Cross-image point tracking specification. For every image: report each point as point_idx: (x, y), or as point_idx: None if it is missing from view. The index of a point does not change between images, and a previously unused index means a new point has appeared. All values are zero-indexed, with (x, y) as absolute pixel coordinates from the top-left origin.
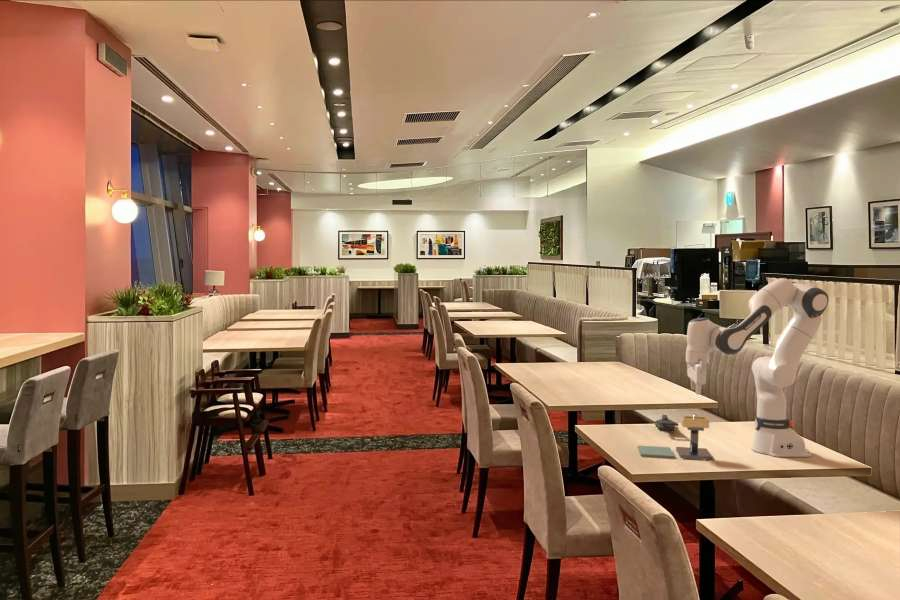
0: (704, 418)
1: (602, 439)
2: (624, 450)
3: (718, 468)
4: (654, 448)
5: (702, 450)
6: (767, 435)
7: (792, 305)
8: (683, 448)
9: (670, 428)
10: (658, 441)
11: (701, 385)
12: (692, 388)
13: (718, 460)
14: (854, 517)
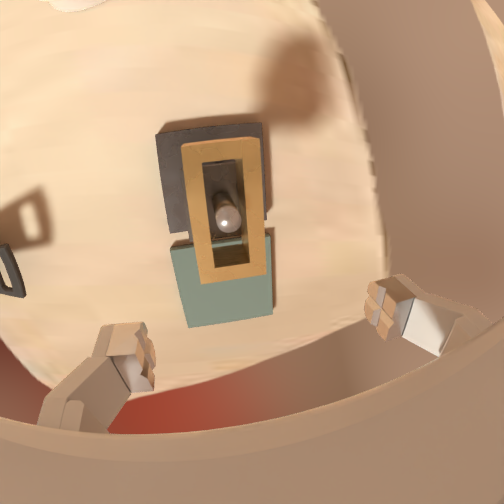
0: (208, 161)
1: None
2: (226, 344)
3: (337, 121)
4: (202, 290)
5: None
6: None
7: None
8: (182, 210)
9: None
10: (91, 278)
11: (479, 319)
12: (152, 359)
13: (252, 103)
14: (486, 25)
